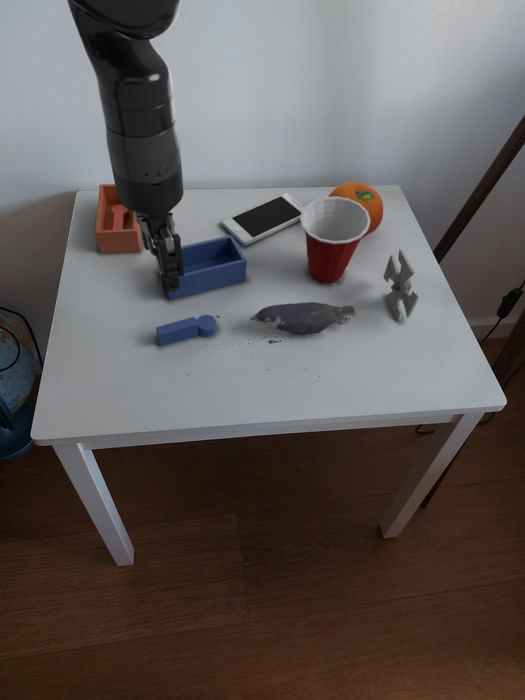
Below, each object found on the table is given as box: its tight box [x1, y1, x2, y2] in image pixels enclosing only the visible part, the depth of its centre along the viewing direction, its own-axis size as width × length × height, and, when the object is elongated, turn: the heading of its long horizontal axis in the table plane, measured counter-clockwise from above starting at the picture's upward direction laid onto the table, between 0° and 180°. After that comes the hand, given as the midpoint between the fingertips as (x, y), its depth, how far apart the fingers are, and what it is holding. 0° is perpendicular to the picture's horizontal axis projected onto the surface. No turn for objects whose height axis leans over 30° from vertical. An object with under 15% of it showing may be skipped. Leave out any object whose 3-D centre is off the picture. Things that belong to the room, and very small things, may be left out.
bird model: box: [249, 301, 358, 336], centre depth 78 cm, size 4×17×5 cm, turn 98°
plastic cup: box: [300, 196, 371, 285], centre depth 83 cm, size 11×11×12 cm
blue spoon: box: [155, 314, 217, 347], centre depth 77 cm, size 9×3×3 cm, turn 113°
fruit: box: [327, 181, 384, 238], centre depth 92 cm, size 11×10×8 cm
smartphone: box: [221, 192, 305, 247], centre depth 95 cm, size 7×15×1 cm, turn 128°
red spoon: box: [111, 204, 130, 230], centre depth 90 cm, size 9×3×3 cm, turn 8°
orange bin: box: [94, 183, 142, 254], centre depth 90 cm, size 13×7×5 cm, turn 8°
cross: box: [383, 248, 420, 322], centre depth 80 cm, size 10×3×10 cm, turn 13°
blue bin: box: [156, 234, 247, 301], centre depth 84 cm, size 13×7×5 cm, turn 113°
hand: (161, 268), depth 68 cm, fingers open, 8 cm apart
